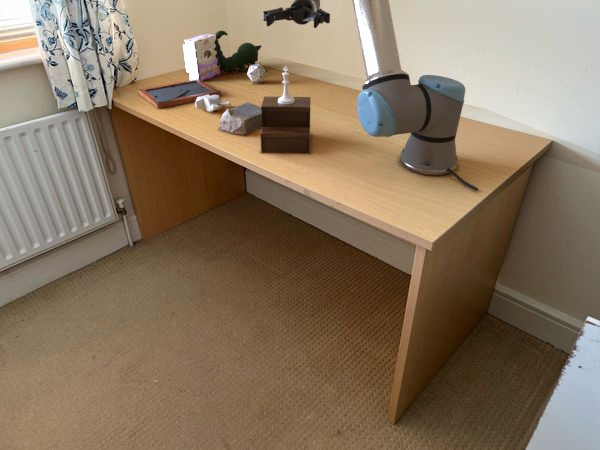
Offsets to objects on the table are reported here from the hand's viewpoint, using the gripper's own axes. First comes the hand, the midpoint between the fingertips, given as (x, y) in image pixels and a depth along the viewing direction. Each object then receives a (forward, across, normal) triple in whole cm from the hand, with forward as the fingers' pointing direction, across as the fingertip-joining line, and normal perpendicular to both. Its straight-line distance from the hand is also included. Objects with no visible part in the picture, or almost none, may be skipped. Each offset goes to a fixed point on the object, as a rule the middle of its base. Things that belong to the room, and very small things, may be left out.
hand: (291, 21), depth 122 cm
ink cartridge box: (-58, +53, -32) cm, 86 cm away
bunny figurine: (-13, +31, -32) cm, 47 cm away
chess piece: (+9, 0, -20) cm, 22 cm away
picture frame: (-26, +49, -32) cm, 65 cm away
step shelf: (+11, 0, -32) cm, 34 cm away
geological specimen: (0, +15, -32) cm, 36 cm away
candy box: (-51, +48, -32) cm, 76 cm away
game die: (-47, +24, -32) cm, 62 cm away
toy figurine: (-64, +36, -32) cm, 80 cm away
